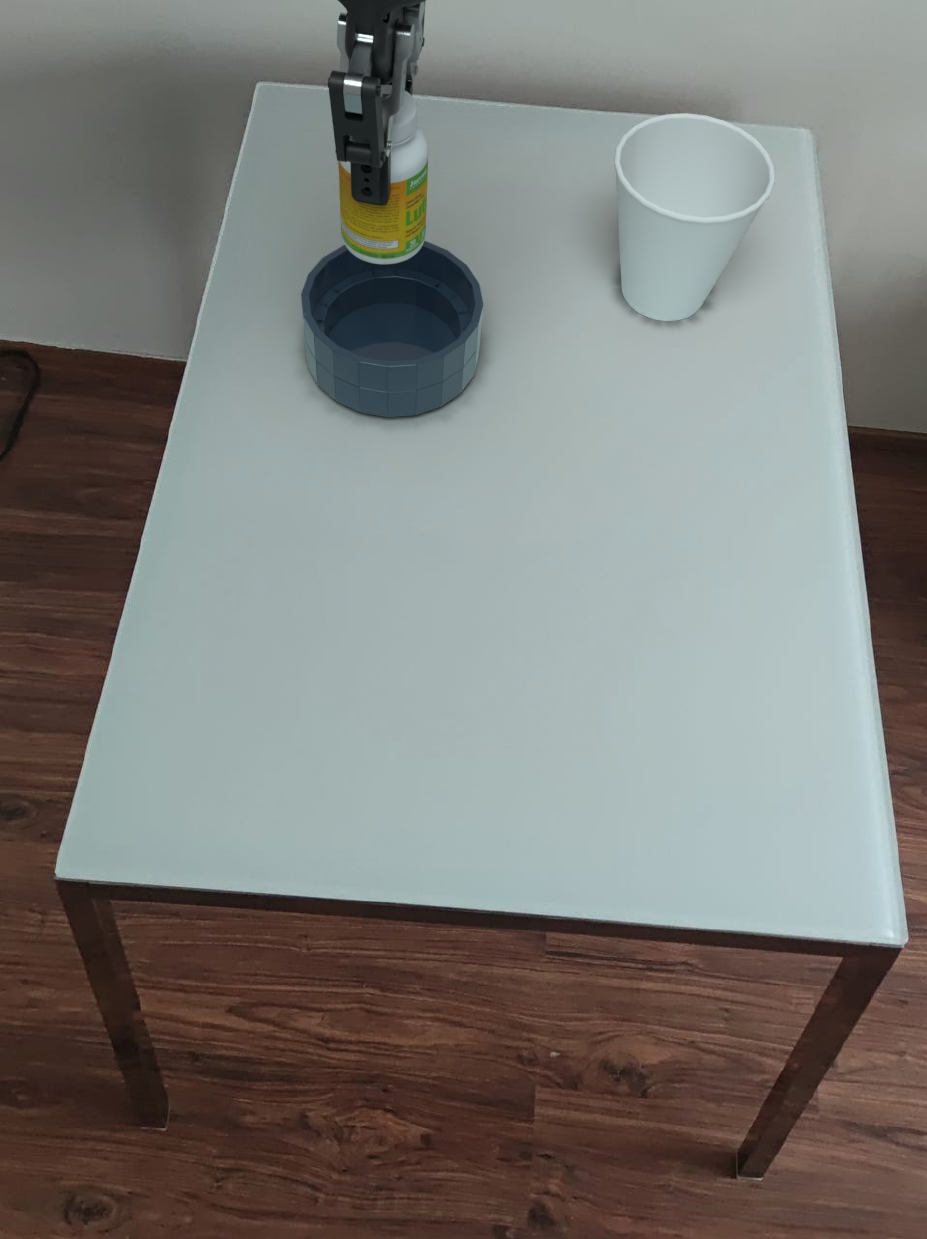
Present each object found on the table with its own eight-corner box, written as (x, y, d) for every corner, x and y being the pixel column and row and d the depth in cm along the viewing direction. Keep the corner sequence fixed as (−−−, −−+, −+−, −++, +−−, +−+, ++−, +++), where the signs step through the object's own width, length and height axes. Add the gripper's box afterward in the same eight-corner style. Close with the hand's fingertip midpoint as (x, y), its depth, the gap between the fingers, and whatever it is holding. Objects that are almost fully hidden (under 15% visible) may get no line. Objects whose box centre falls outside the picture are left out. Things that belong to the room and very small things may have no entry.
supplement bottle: (417, 273, 77) (420, 141, 68) (333, 260, 77) (326, 127, 69) (432, 216, 79) (437, 83, 71) (351, 203, 80) (346, 69, 71)
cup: (673, 367, 95) (709, 244, 84) (560, 288, 99) (581, 160, 88) (764, 293, 100) (808, 167, 89) (652, 220, 104) (682, 91, 93)
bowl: (287, 405, 91) (281, 348, 86) (329, 282, 98) (325, 223, 93) (460, 435, 90) (465, 380, 85) (490, 310, 97) (496, 252, 92)
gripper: (340, -207, 63) (349, 85, 77) (265, -55, 56) (291, 237, 70) (482, -185, 63) (465, 104, 77) (426, -29, 55) (418, 259, 70)
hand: (382, 166), depth 73 cm, fingers closed on supplement bottle, 5 cm apart
